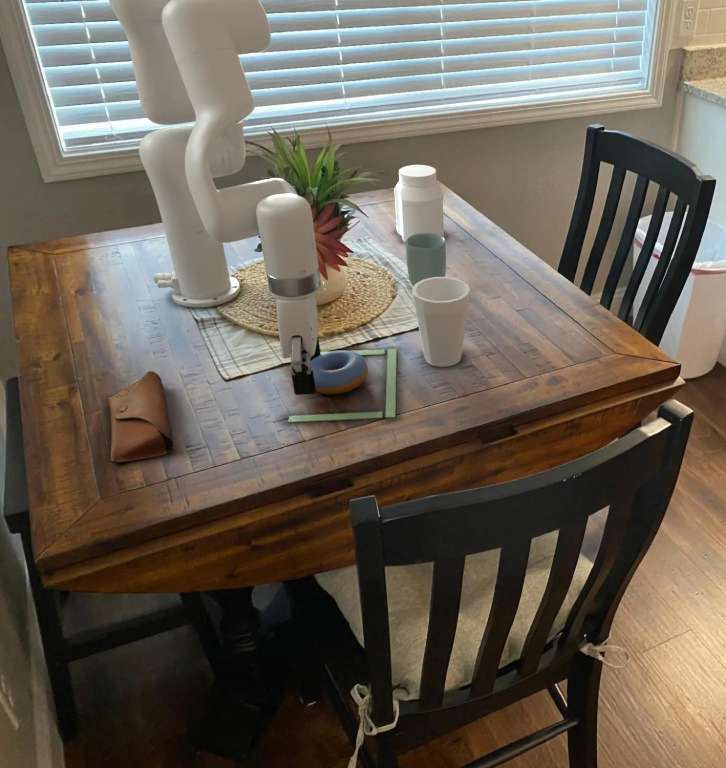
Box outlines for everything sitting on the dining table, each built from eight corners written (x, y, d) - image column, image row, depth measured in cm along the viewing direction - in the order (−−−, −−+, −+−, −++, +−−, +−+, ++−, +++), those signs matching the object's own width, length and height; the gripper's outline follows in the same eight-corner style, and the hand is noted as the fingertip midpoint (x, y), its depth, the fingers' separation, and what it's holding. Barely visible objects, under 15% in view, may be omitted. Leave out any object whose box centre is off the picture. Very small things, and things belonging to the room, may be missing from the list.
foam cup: (478, 349, 132) (478, 282, 125) (458, 376, 125) (457, 306, 118) (429, 339, 135) (426, 273, 128) (406, 364, 128) (402, 296, 120)
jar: (393, 227, 177) (389, 164, 168) (432, 223, 180) (430, 160, 172) (406, 246, 168) (403, 181, 160) (447, 241, 171) (446, 176, 163)
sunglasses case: (103, 396, 117) (118, 360, 115) (151, 406, 121) (165, 371, 119) (110, 465, 103) (126, 426, 102) (163, 473, 108) (179, 435, 106)
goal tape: (288, 422, 113) (288, 421, 113) (302, 353, 130) (302, 352, 130) (395, 417, 115) (395, 416, 115) (396, 349, 132) (396, 348, 131)
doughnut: (296, 379, 123) (292, 355, 120) (351, 360, 128) (348, 337, 126) (323, 408, 117) (320, 384, 114) (380, 387, 122) (378, 363, 119)
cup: (449, 279, 155) (448, 234, 149) (443, 297, 148) (441, 250, 143) (412, 277, 155) (410, 231, 150) (404, 294, 149) (401, 247, 143)
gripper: (275, 256, 118) (290, 349, 128) (259, 308, 104) (277, 408, 113) (324, 254, 119) (335, 347, 128) (314, 306, 105) (328, 406, 114)
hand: (308, 376), depth 121 cm, fingers open, 9 cm apart
